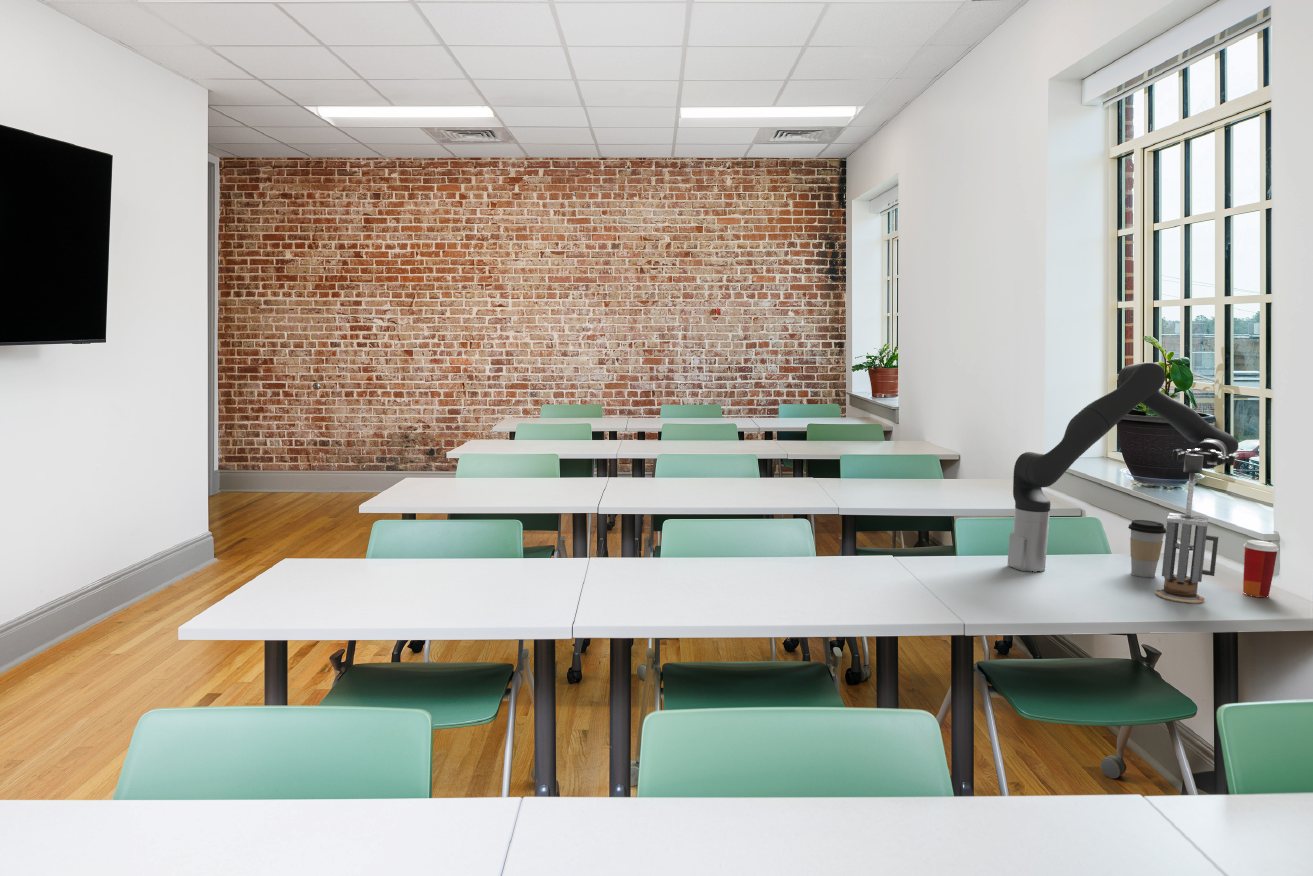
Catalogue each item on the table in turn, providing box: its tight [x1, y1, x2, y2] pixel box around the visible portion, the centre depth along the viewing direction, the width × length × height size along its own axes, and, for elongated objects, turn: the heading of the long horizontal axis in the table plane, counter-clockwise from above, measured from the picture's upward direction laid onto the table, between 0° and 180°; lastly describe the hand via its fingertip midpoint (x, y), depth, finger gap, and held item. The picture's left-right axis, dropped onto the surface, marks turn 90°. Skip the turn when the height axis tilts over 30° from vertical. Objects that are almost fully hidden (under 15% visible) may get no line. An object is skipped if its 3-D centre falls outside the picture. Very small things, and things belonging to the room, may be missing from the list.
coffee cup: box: [1128, 519, 1167, 578], centre depth 247 cm, size 9×9×15 cm
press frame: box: [1154, 512, 1219, 605], centre depth 225 cm, size 12×11×21 cm
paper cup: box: [1242, 539, 1280, 598], centre depth 230 cm, size 8×8×14 cm
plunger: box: [1175, 454, 1204, 552], centre depth 224 cm, size 6×6×24 cm
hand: (1199, 459), depth 231 cm, fingers open, 8 cm apart
